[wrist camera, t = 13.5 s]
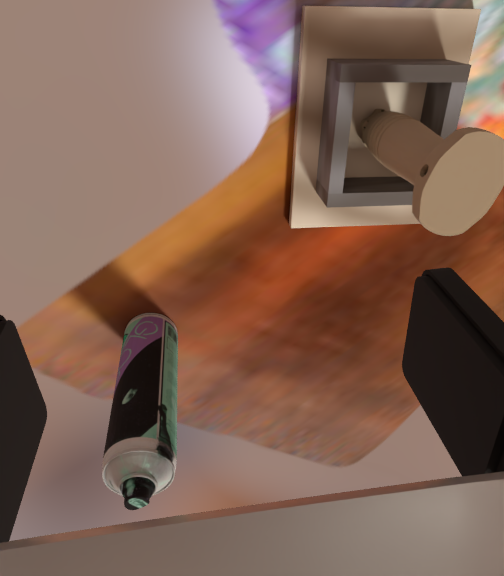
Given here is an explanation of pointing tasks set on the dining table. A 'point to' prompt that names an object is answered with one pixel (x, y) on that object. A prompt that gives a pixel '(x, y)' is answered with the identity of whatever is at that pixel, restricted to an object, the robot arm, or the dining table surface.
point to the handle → (439, 168)
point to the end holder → (370, 104)
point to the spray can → (143, 412)
